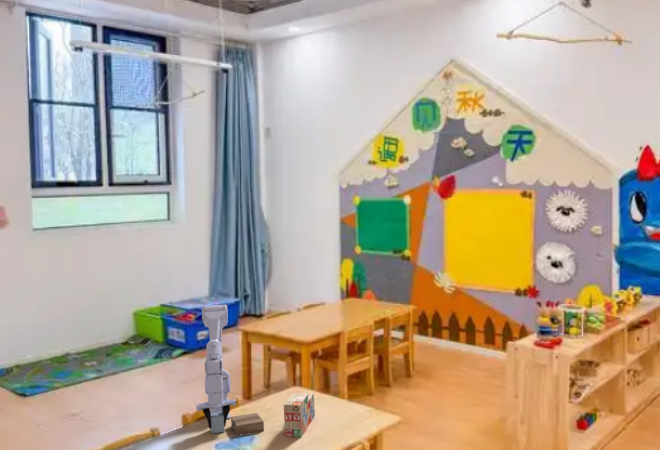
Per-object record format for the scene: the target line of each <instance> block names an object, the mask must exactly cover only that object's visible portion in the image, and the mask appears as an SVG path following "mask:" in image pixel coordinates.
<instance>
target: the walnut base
mask: <svg viewBox="0 0 660 450" xmlns="http://www.w3.org/2000/svg"><path fill="white" fill-rule="evenodd" d="M230 420H231V421H230V422H231V425H230V426H231V428H232V427H233V428H232V429H233V431H234V433H235V432H236V433H235V434H236V436H237V435H238V436H241V435H240V434H244V435H248V433H250V434H254V433H255V432H256V433H260V432H264V431H265V424H264V420H263V419H262V417H261V416H260V415H259V414H258V412H253V413H248V414H241V415H234V416H231V418H230Z"/></svg>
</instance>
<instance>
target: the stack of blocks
mask: <svg viewBox="0 0 660 450" xmlns="http://www.w3.org/2000/svg"><path fill="white" fill-rule="evenodd" d="M314 396H315V395H314V393H312V392H311V393H308V392H306V393H305V392H304V393H303V392H302V393H300V392H299V393H295V392H294V393H293V392H292V393H291V395H290V396H289V397H288V398H287V400H286V401H285V403H284V404H283V417H284V418H283V419H284V437H285V438H302V437H303V436H304V435H305V433H306V432H307V430H308V428H309V426H310V425H311V423H312V421H313V420H314V418H315V417H314V416H315V415H316V414H315V411H316V410H315V399H314V398H315V397H314Z"/></svg>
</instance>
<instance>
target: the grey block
mask: <svg viewBox="0 0 660 450" xmlns="http://www.w3.org/2000/svg"><path fill="white" fill-rule="evenodd" d="M209 430H210V432H211V434H219V433H225V427H224V416H223V413H222V412H217V413H211V429H209Z"/></svg>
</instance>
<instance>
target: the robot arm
mask: <svg viewBox="0 0 660 450" xmlns="http://www.w3.org/2000/svg"><path fill="white" fill-rule="evenodd" d="M228 312H229V309H228V305H227V304H212V305H202V307H201V320H202V322H203V324H204V328H208V334H209V341H208V342H207V343H206V354H205V355H206V357H205V359H206V360H205V361H204V374H205V377H204V391H205V394H206V395H207V401H205V402H202V403H196V404H195V409H196V412H200V411H202V412H203V413H202V414H203V415H204V417H206V420H207V425H208V429H209V430H210V429H211V413H217V412H222V413H223V416H224V428H226V423H227V419H231V417H232V416H231V413H230V412H231V407H232V406H233V407H236V406H237V402H236V401H237V400H236V398H233V399H229V395H228V394H230V393H231V391H232V386H231V385H232V383H231V375H230V372H229V371H228V370H225V369H224V361H223V335H222V334H223V333H222V332H223V330H224V329H223V328H224V327H226V326H228V323H229V321H228V319H229V317H228V316H229V315H228Z"/></svg>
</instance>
